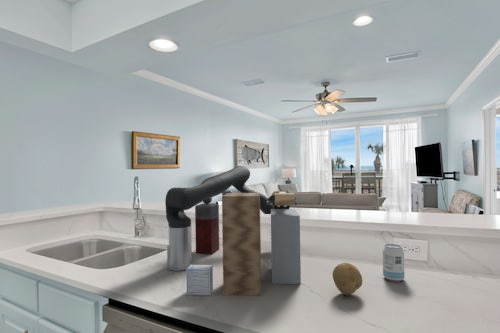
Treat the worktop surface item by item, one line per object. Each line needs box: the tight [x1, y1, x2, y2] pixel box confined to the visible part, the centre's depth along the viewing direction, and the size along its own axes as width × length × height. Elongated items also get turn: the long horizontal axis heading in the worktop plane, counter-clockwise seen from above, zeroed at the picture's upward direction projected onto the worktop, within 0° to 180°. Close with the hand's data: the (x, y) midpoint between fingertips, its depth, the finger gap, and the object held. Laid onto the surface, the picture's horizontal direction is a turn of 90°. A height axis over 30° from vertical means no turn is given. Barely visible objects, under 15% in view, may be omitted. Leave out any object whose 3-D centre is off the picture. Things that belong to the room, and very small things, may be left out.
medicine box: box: [185, 264, 214, 296], centre depth 94 cm, size 8×4×9 cm, turn 84°
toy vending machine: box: [194, 197, 220, 255], centre depth 142 cm, size 9×11×28 cm
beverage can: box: [382, 243, 405, 283], centre depth 103 cm, size 7×7×12 cm
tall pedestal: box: [221, 192, 262, 297], centre depth 98 cm, size 12×12×32 cm
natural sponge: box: [332, 262, 363, 297], centre depth 91 cm, size 9×9×10 cm
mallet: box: [274, 191, 296, 206], centre depth 112 cm, size 20×7×4 cm, turn 177°
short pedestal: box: [270, 208, 302, 285], centre depth 108 cm, size 10×16×24 cm, turn 177°
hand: (282, 193), depth 116 cm, fingers closed on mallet, 3 cm apart
